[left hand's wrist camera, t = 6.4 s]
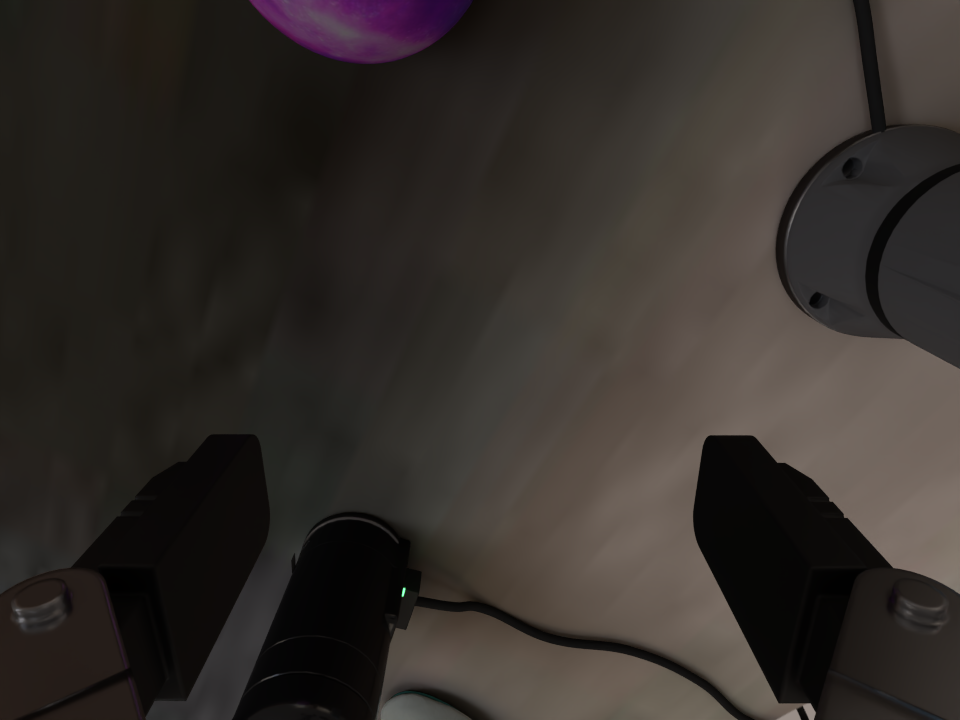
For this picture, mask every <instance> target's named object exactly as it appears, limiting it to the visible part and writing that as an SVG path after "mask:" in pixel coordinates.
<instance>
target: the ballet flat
mask: <svg viewBox="0 0 960 720" xmlns="http://www.w3.org/2000/svg"><path fill="white" fill-rule="evenodd" d="M380 718H381V720H472V719H471V718H469V717H468V716H466V715H465V714H463V713H461V712H460V711H459V710H457V709H455V708H454V707H452V706H450V705H449V704H447V703H445V702H443V701H441V700H439V699H437V698H435V697H433V696H430V695H427V694H424V693H421V692H415V691H404V692H400V693H397V694H396V695H394V696H393V697H391V699H389V700H388V701H387V702H386V703H385V704H384V706H383V708H382V710H381V717H380Z"/></svg>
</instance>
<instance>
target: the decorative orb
mask: <svg viewBox="0 0 960 720" xmlns="http://www.w3.org/2000/svg"><path fill="white" fill-rule="evenodd" d="M249 1H250V2H251V3H252V4H253V6H254V7H255V8H256V9H257V10H258V11H259V12H260V13H261V14H262V15H263V17H265V18H266V19H267V20H268V21H269V22H270V23H271V24H272V25H273V26H274V27H275V28H277V29H278V30H279V31H280V32H282V33H283V34H284V35H286V36H287V37H289V38H290V39H291V40H293V41H294V42H296V43H298V44H300V45H301V46H303V47H305V48H307V49H309V50H311V51H313V52H315V53H318V54H320V55H323V56H325V57H328V58H332V59H335V60H339V61H344V62H350V63H359V64H376V63H385V62H390V61H395V60H399V59H402V58H405V57H408V56H410V55H413V54H415V53H417V52H420V51H421V50H423V49H425V48H427V47H429V46H430V45H432V44H433V43H434V42H436V41H437V40H439V39H440V38H441V37H442V36H444V35H445V34H446V33H447V32H448V31H449V30H450V29H451V28H452V27H453V26H454V25H455V24H456V23H457V22H458V21H459V20H460V18H461V17H462V16H463V15H464V13H465V12H466V11H467V9H468V8H469V6H470V5H471V3H472V2H473V0H249Z"/></svg>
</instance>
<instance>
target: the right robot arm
mask: <svg viewBox="0 0 960 720" xmlns="http://www.w3.org/2000/svg"><path fill="white" fill-rule="evenodd" d="M853 2H854V7H855V13H856V18H857V25H858V32H859V39H860V47H861V55H862V63H863V70H864V77H865V83H866V90H867V97H868V104H869V111H870V118H871V125H872V130H870V131H866V132H864V133H861V134H859V135H856V136H854V137H852V138H850V139H848V140H847V141H845V142H843V143H842V144H840V145H838V146H837V147H835V148H834V149H832V150H831V151H830V152H828V153H827V154H826V155H825V156H823V157H822V158H821V159H820V160H819V161H818V162H817V163H816V164H815V165H814V166H813V167H812V168H811V169H810V170H809V171H808V172H807V174H806V175H805V176H804V177H803V178H802V180H801V181H800V183H799V184H798V185H797V187H796V188H795V190H794V192H793V193H792V195H791V197H790V199H789V201H788V203H787V205H786V207H785V209H784V212H783V215H782V218H781V221H780V225H779V228H778V234H777V241H776V260H777V268H778V272H779V276H780V279H781V281H782V284H783V286H784V288H785V290H786V292H787V294H788V295H789V297H790V298H791V300H792V301H793V302H794V303H795V304H796V306H797V307H798V308H799V309H801V310H802V311H803V312H804V313H805V314H807V315H808V316H809V317H811V318H813V319H814V320H816V321H817V322H819V323H821V324H823V325H824V326H826V327H828V328H830V329H832V330H835V331H837V332H841V333H844V334H849V335H854V336H860V337H874V338H895V339H905V340H907V341H909V342H911V343H912V344H914V345H916V346H918V347H920V348H922V349H924V350H926V351H927V352H929V353H931V354H933V355H935V356H937V357H939V358H941V359H942V360H944V361H946V362H948V363H950V364H952V365H954V366H956V367H957V368H959V369H960V134H959V133H957V132H954V131H951V130H949V129H946V128H941V127H937V126H929V125H892V126H886V121H885V114H884V107H883V99H882V92H881V85H880V77H879V70H878V63H877V55H876V47H875V39H874V31H873V23H872V16H871V10H870V4H869V0H853Z"/></svg>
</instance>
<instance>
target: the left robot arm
mask: <svg viewBox="0 0 960 720" xmlns="http://www.w3.org/2000/svg"><path fill="white" fill-rule="evenodd" d="M693 524H694V532H695V536H696V540H697V543H698V546H699V548H700V550H701V552H702V554H703V556H704V557H705V559H706V561H707V563H708V565H709V567H710V569H711V571H712V573H713V575H714V577H715V579H716V581H717V583H718V585H719V587H720V589H721V591H722V593H723V595H724V597H725V599H726V601H727V603H728V605H729V607H730V609H731V611H732V612H733V614H734V616H735V618H736V620H737V622H738V624H739V626H740V628H741V630H742V632H743V634H744V636H745V638H746V640H747V642H748V644H749V646H750V648H751V650H752V652H753V654H754V656H755V658H756V660H757V662H758V664H759V665H760V667H761V669H762V671H763V673H764V675H765V677H766V679H767V681H768V683H769V685H770V687H771V689H772V691H773V693H774V695H775V697H776V699H777V701H778V703H811V705H812V706H813V708H814V710H815V712H816V715H815V718H814V720H960V594H958V593H957V592H955V591H954V590H952V589H951V588H949V587H947V586H945V585H944V584H942V583H940V582H938V581H936V580H933V579H931V578H929V577H926V576H923V575H921V574H917V573H914V572H911V571H906V570H902V569H895V568H893V567H892V566H891V565H890V564H889V563H888V562H887V561H886V560H885V558H884V557H883V556H882V555H881V554H880V553H879V552H878V551H877V550H876V549H875V548H874V546H873V545H872V544H871V543H870V542H869V541H868V540H867V539H866V538H865V537H864V536H863V534H862V533H861V532H860V531H859V530H858V529H857V528H856V527H855V526H854V525H853V524H852V522H851V521H850V520H849V519H848V518H844V514H843V513H842V512H841V510H840V509H839V508H838V507H837V506H836V505H835V504H834V503H833V502H830V501H829V497H828V496H827V495H826V494H825V493H824V492H823V491H822V490H821V489H820V487H819V486H818V485H817V484H816V483H815V482H814V481H813V480H812V479H811V478H809V477H808V476H806V475H804V474H803V473H801V472H799V471H798V470H796V469H794V468H793V467H791V466H789V465H788V464H786V463H777V462H776V461H775V460H774V458H773V457H772V456H771V455H770V454H769V453H768V451H767V450H766V449H765V448H764V447H763V446H762V445H761V443H760V442H759V441H758V440H757V439H756V438H755V437H754V436H751V435H710V436H708V437H707V438H706V440H705V442H704V445H703V449H702V455H701V462H700V469H699V476H698V482H697V489H696V496H695V503H694V510H693ZM269 525H270V507H269V500H268V493H267V486H266V479H265V473H264V466H263V459H262V452H261V446H260V442H259V440H258V438H257V436H255V435H253V434H213V435H210V436H209V437H207V439H206V440H205V441H204V442H203V443H202V444H201V446H200V447H199V448H198V449H197V450H196V451H195V453H194V454H193V455H192V456H191V457H190V459H189V460H188V461H187V462H178V463H176V464H174V465H173V466H171V467H169V468H168V469H166V470H164V471H163V472H161V473H159V474H158V475H156V476H155V477H153V478H152V479H151V480H150V481H149V482H148V483H147V484H146V485H145V486H144V488H143V489H142V490H141V491H140V492H139V493H138V494H137V495H136V496H135V500H132V501H131V502H130V503H129V504H128V505H127V506H126V507H125V508H124V510H123V511H122V512H121V516H120V517H116V518H115V520H114V521H113V522H112V523H111V524H110V525H109V526H108V527H107V528H106V529H105V531H104V532H103V533H102V534H101V535H100V536H99V537H98V538H97V539H96V540H95V542H94V543H93V544H92V545H91V546H90V547H89V548H88V549H87V550H86V551H85V553H84V554H83V555H82V556H81V557H80V558H79V559H78V560H77V561H76V562H75V564H74V565H73V566H72V567H71V568H65V569H58V570H54V571H49V572H46V573H43V574H39V575H37V576H34V577H31V578H29V579H27V580H24V581H22V582H20V583H18V584H16V585H15V586H13V587H11V588H9V589H8V590H6V591H5V592H3V593H2V594H0V720H146V718H145V717H146V715H147V713H148V712H149V710H150V708H151V706H152V704H153V703H154V701H186V700H187V698H188V696H189V694H190V692H191V690H192V688H193V686H194V684H195V682H196V680H197V678H198V676H199V674H200V672H201V670H202V668H203V666H204V664H205V662H206V660H207V658H208V656H209V654H210V652H211V650H212V648H213V646H214V644H215V642H216V640H217V638H218V636H219V634H220V632H221V630H222V629H223V627H224V625H225V623H226V621H227V619H228V617H229V615H230V613H231V611H232V609H233V607H234V605H235V603H236V601H237V599H238V597H239V595H240V593H241V591H242V589H243V587H244V585H245V583H246V581H247V579H248V577H249V575H250V573H251V571H252V569H253V567H254V565H255V563H256V561H257V559H258V557H259V555H260V553H261V551H262V549H263V547H264V545H265V543H266V540H267V536H268V532H269ZM410 545H411V542H410V541H408V540H405V539H402V538H399V536H398V535H397V534H396V532H395V531H394V530H393V529H392V528H391V527H390V526H388V525H387V524H386V523H384V522H383V521H381V520H379V519H377V518H375V517H372V516H369V515H365V514H360V513H341V514H336V515H333V516H330V517H327V518H325V519H323V520H322V521H320V522H319V523H317V524H316V525H315V526H314V527H313V528H312V529H311V530H310V532H309V533H308V535H307V537H306V539H305V541H304V544H303V547H302V550H301V553H300V555H299V559H298V561H297V564H296V565H295V553H294V556H293V558H292V560H291V562H292V576H291V578H290V581H289V583H288V586H287V588H286V590H285V593H284V595H283V598H282V600H281V603H280V605H279V608H278V610H277V612H276V615H275V617H274V620H273V622H272V625H271V627H270V629H269V632H268V634H267V637H266V639H265V642H264V644H263V647H262V649H261V651H260V654H259V656H258V659H257V661H256V664H255V666H254V668H253V671H252V673H251V676H250V678H249V681H248V683H247V685H246V688H245V690H244V693H243V695H242V698H241V700H240V703H239V705H238V708H237V710H236V712H235V715H234V717H233V719H232V720H377V717H378V711H379V705H380V699H381V693H382V687H383V682H384V676H385V670H386V664H387V658H388V652H389V646H390V643H391V640H392V637H393V634H394V631H395V628H400V629H404V630H406V629H407V626H408V623H409V620H410V617H411V614H412V612H413V609H414V606H420V607H426V608H431V609H437V610H443V611H452V612H463V611H477V612H481V613H484V614H487V615H490V616H492V617H495V618H497V619H499V620H501V621H503V622H505V623H507V624H508V625H510V626H512V627H514V628H516V629H518V630H520V631H521V632H523V633H525V634H528V635H530V636H532V637H534V638H537V639H539V640H542V641H545V642H548V643H552V644H556V645H560V646H566V647H572V648H581V649H593V650H604V651H612V652H618V653H623V654H627V655H631V656H635V657H638V658H641V659H644V660H647V661H650V662H653V663H655V664H658V665H660V666H663V667H665V668H667V669H669V670H672V671H674V672H676V673H678V674H679V675H681V676H683V677H685V678H687V679H688V680H690V681H692V682H694V683H695V684H697V685H698V686H700V687H701V688H703V689H704V690H706V691H707V692H708V693H709V694H710V695H712V696H713V697H714V698H715V699H716V700H717V701H718V702H719V703H720V704H721V705H722V706H723V707H724V708H725V709H726V710H727V711H728V712H729V713H730V714H731V715H732V716H734V717H735V718H736V719H738V720H754V719H752V718H750V717H748V716H746V715H745V714H743V713H742V712H740V711H739V710H738V709H736V708H735V707H734V706H733V705H732V704H731V703H730V702H729V701H728V700H727V699H726V698H725V697H724V696H723V695H722V694H721V693H720V692H719V691H718V690H717V689H716V688H715V687H713V686H712V685H711V684H710V683H708V682H707V681H705V680H704V679H702V678H701V677H699V676H697V675H696V674H694V673H692V672H691V671H689V670H687V669H685V668H684V667H682V666H680V665H678V664H676V663H674V662H672V661H670V660H668V659H665V658H663V657H661V656H658V655H656V654H653V653H650V652H647V651H644V650H641V649H638V648H635V647H631V646H628V645H623V644H619V643H612V642H605V641H594V640H582V639H573V638H566V637H561V636H557V635H553V634H549V633H546V632H543V631H540V630H538V629H536V628H533V627H531V626H529V625H527V624H525V623H523V622H521V621H519V620H517V619H516V618H514V617H512V616H510V615H508V614H506V613H504V612H502V611H500V610H498V609H496V608H494V607H491V606H488V605H486V604H482V603H479V602H473V601H467V602H449V601H442V600H436V599H430V598H425V597H419V596H418V595H419V589H420V582H421V574H422V572H421V571H417V570H413V569H409V568H407V563H408V557H409V551H410ZM796 710H797V712H798V714H799V716H800V719H801V720H809V718H808V716H807V713H806V711H805V709H804V707H803V706H801V707H799V708H797V709H796Z"/></svg>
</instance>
